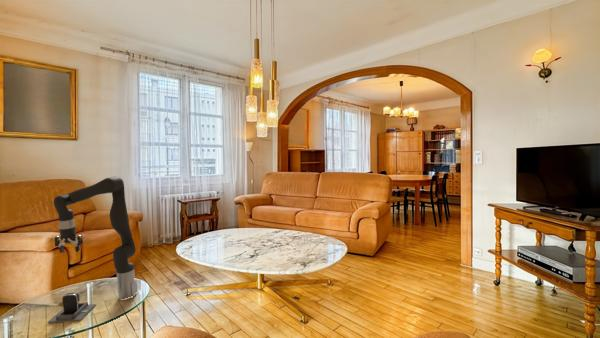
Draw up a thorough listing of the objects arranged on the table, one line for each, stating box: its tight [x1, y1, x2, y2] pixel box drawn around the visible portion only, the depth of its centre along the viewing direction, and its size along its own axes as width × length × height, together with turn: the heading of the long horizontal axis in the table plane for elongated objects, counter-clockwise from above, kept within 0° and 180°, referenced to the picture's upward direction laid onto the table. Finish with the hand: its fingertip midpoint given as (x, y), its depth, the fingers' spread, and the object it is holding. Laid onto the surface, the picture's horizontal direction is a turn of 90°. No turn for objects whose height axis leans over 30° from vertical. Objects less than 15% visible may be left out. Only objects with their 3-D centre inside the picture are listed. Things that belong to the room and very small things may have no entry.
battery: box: [62, 292, 80, 315], centre depth 157 cm, size 7×4×11 cm, turn 100°
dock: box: [47, 301, 97, 324], centre depth 158 cm, size 16×14×3 cm
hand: (69, 252), depth 174 cm, fingers open, 8 cm apart
